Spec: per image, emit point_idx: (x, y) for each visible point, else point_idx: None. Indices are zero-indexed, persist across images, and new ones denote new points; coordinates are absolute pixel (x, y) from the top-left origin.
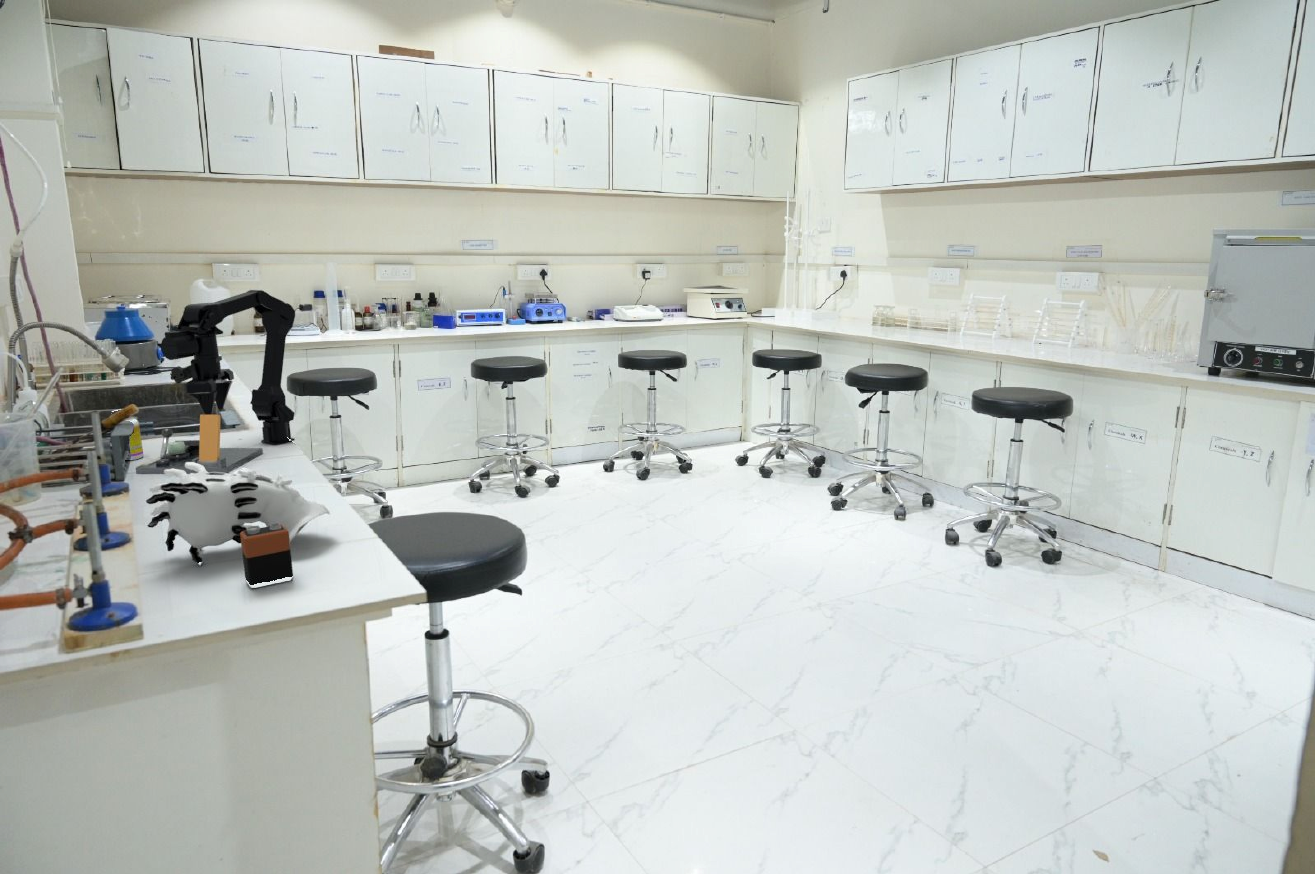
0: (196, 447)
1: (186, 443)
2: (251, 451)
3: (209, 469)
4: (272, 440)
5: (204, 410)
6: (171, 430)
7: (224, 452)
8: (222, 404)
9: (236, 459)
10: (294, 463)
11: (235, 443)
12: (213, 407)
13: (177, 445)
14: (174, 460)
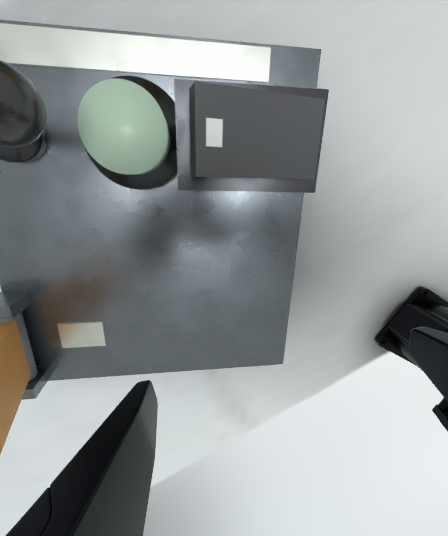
0: None
1: (192, 156)
2: (241, 354)
3: None
4: (394, 335)
5: (101, 439)
6: (7, 138)
7: (230, 281)
8: (438, 384)
9: (138, 362)
10: (172, 460)
11: (430, 206)
12: (142, 508)
13: (95, 158)
14: None
